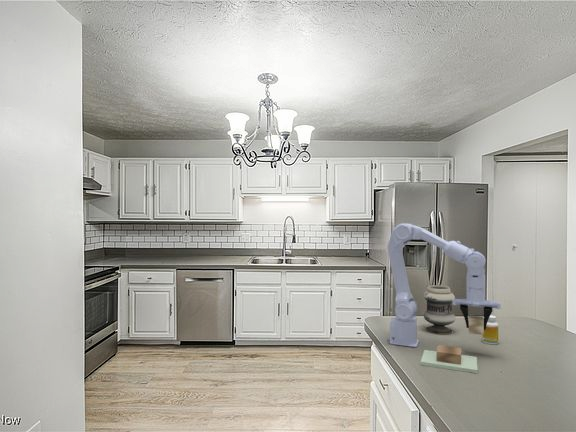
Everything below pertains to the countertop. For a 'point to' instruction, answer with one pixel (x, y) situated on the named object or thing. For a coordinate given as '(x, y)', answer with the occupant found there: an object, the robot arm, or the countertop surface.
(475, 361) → the baseplate
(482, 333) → the maple brick
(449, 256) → the robot arm
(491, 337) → the supplement bottle
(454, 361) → the base block
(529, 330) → the countertop surface
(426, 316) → the apothecary jar
